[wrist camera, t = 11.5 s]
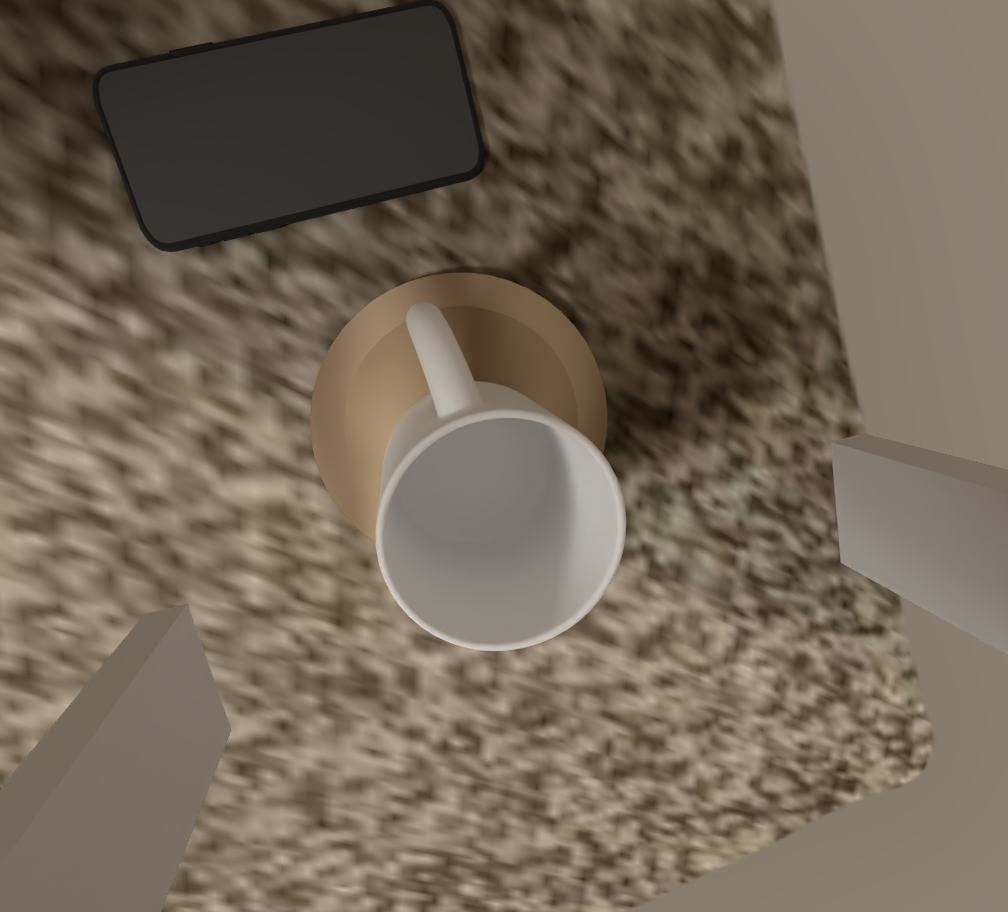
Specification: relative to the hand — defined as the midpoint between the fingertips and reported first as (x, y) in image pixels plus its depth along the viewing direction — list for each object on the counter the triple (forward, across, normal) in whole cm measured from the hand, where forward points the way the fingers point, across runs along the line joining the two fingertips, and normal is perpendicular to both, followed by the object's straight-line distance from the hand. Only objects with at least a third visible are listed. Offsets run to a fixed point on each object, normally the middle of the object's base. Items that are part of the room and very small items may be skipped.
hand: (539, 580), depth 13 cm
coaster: (+19, 0, 0) cm, 19 cm away
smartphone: (+20, -4, +14) cm, 24 cm away
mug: (+19, 0, 0) cm, 19 cm away
